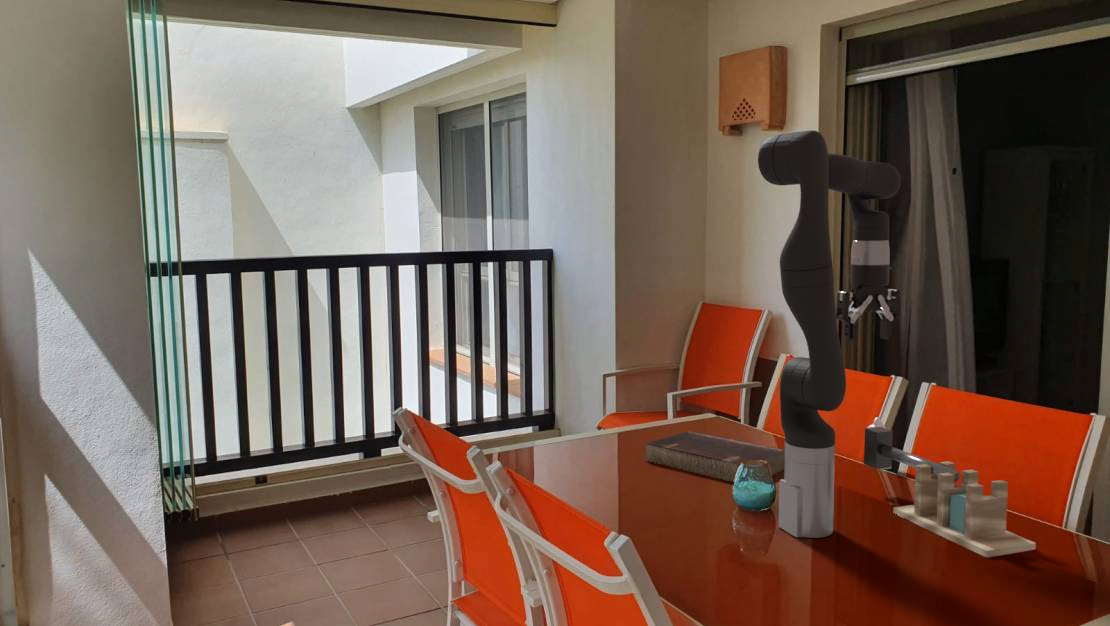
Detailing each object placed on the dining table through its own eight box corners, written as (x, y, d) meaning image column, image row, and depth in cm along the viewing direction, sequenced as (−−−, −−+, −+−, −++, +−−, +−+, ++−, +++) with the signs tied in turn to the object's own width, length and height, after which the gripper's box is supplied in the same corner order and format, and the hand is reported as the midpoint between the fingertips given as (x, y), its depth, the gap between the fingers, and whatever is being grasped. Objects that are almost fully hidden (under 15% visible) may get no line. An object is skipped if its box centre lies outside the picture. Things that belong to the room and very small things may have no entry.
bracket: (893, 513, 173) (895, 460, 171) (937, 507, 176) (939, 455, 175) (986, 557, 150) (989, 497, 149) (1035, 549, 153) (1038, 490, 152)
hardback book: (789, 469, 205) (790, 449, 204) (747, 487, 191) (747, 465, 191) (690, 447, 225) (690, 429, 224) (645, 462, 212) (645, 443, 211)
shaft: (863, 464, 186) (864, 428, 185) (879, 462, 187) (880, 426, 186) (945, 498, 163) (947, 457, 162) (962, 495, 165) (964, 455, 164)
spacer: (949, 526, 161) (950, 495, 161) (973, 523, 163) (975, 491, 163) (963, 533, 158) (965, 501, 157) (988, 529, 160) (990, 497, 159)
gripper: (852, 264, 171) (850, 344, 173) (911, 262, 175) (908, 340, 177) (829, 262, 178) (827, 339, 180) (886, 260, 182) (884, 335, 184)
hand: (867, 339), depth 178 cm, fingers open, 8 cm apart
